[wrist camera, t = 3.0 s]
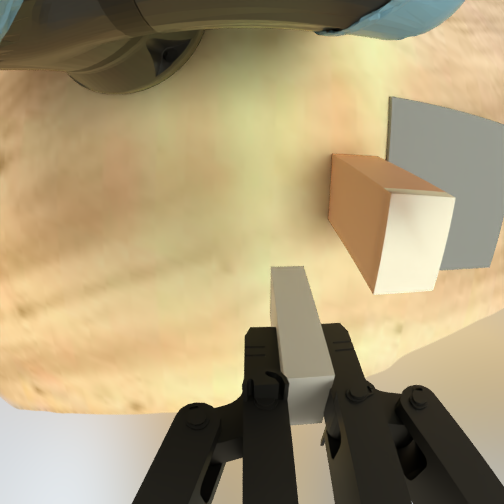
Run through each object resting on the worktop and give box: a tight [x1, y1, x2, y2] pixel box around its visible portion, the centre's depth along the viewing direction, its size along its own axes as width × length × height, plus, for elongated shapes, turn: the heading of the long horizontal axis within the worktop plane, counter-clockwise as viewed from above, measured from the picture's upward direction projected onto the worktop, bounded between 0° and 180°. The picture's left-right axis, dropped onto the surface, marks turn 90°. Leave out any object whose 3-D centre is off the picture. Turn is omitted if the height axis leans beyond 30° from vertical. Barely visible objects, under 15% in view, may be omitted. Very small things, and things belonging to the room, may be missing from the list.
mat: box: [386, 97, 504, 270], centre depth 30 cm, size 20×20×1 cm
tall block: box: [328, 154, 455, 295], centre depth 24 cm, size 7×5×14 cm
